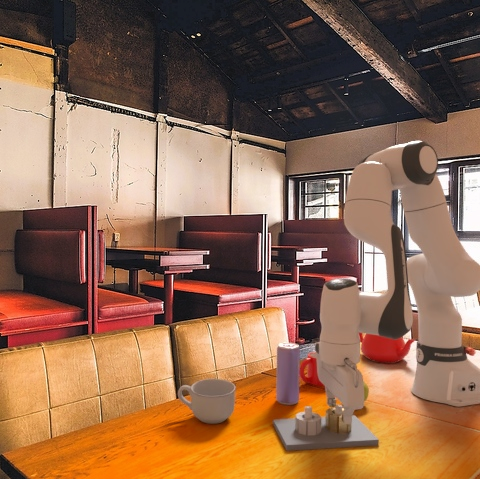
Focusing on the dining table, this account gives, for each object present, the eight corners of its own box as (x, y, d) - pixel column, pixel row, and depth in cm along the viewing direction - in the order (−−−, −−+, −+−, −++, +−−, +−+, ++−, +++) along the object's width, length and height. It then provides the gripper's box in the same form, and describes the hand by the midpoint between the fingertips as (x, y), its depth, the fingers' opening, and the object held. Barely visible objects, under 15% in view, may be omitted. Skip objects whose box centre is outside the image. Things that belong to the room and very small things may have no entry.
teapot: (343, 354, 173) (344, 321, 172) (373, 348, 181) (373, 317, 181) (399, 372, 151) (400, 334, 151) (430, 365, 160) (431, 329, 159)
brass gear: (345, 422, 109) (345, 407, 109) (354, 432, 104) (354, 416, 103) (322, 423, 108) (323, 408, 108) (330, 434, 103) (331, 417, 103)
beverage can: (298, 406, 122) (298, 348, 121) (274, 404, 123) (275, 347, 122) (299, 398, 127) (300, 343, 127) (277, 396, 129) (278, 341, 128)
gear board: (354, 420, 113) (355, 394, 113) (378, 445, 100) (379, 416, 100) (273, 424, 110) (273, 398, 110) (286, 450, 97) (287, 421, 97)
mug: (291, 382, 140) (291, 356, 140) (320, 375, 147) (320, 350, 147) (309, 390, 134) (310, 362, 134) (339, 382, 141) (339, 356, 141)
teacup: (241, 413, 117) (241, 381, 117) (225, 431, 107) (226, 396, 106) (190, 406, 121) (190, 375, 121) (170, 422, 111) (170, 388, 111)
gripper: (372, 365, 95) (371, 433, 96) (337, 341, 116) (336, 397, 116) (342, 366, 95) (341, 435, 95) (312, 342, 115) (311, 398, 115)
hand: (338, 414), depth 106 cm, fingers open, 8 cm apart
